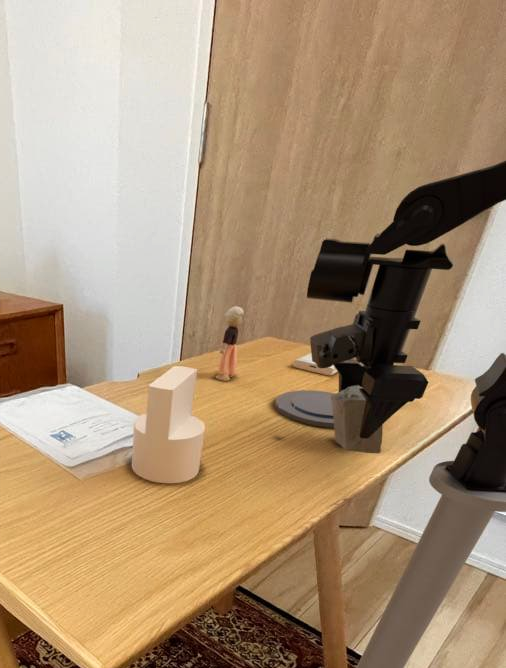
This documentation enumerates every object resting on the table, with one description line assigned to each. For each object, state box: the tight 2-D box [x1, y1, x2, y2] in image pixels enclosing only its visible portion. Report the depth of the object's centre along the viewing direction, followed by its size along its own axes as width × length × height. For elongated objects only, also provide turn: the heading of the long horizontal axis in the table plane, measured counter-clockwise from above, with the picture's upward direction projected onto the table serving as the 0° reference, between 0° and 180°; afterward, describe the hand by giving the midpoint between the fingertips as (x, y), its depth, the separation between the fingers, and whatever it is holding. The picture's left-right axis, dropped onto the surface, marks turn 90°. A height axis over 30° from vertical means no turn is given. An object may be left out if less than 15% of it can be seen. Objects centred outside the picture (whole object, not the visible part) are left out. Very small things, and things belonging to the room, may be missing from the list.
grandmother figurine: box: [215, 305, 245, 382], centre depth 93 cm, size 8×4×13 cm, turn 162°
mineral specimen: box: [331, 385, 384, 454], centre depth 70 cm, size 7×9×8 cm
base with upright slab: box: [131, 365, 206, 484], centre depth 62 cm, size 9×9×12 cm
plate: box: [274, 389, 336, 429], centre depth 83 cm, size 15×15×1 cm
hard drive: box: [292, 352, 338, 376], centre depth 103 cm, size 2×8×12 cm
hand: (352, 424), depth 71 cm, fingers open, 9 cm apart
